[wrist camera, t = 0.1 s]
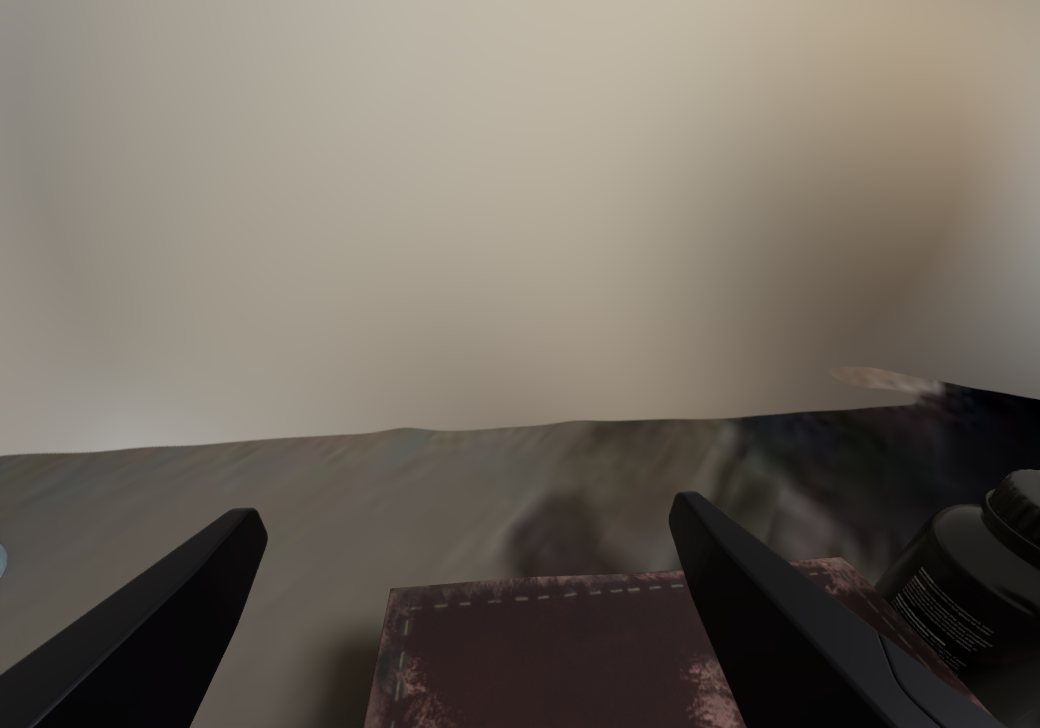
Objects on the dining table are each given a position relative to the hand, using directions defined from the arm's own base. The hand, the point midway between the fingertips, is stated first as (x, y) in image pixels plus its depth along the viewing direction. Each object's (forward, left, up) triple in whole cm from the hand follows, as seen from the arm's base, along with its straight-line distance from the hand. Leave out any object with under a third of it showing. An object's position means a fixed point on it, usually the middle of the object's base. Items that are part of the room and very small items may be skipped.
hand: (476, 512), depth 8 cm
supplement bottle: (+3, -24, -17) cm, 29 cm away
